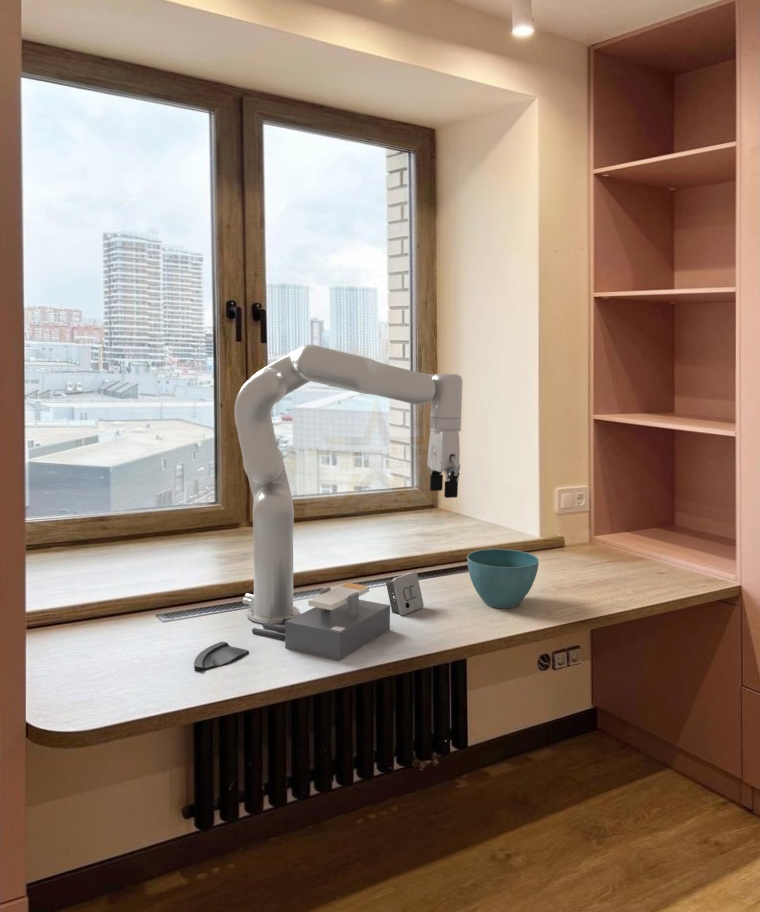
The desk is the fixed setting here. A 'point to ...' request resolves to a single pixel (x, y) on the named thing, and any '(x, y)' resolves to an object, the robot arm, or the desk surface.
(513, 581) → the plant pot
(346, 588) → the breaker rocker
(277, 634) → the three grey prongs
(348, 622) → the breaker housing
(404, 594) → the electrical switch
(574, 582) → the desk surface
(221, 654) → the fan shaped piece
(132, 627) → the desk surface
